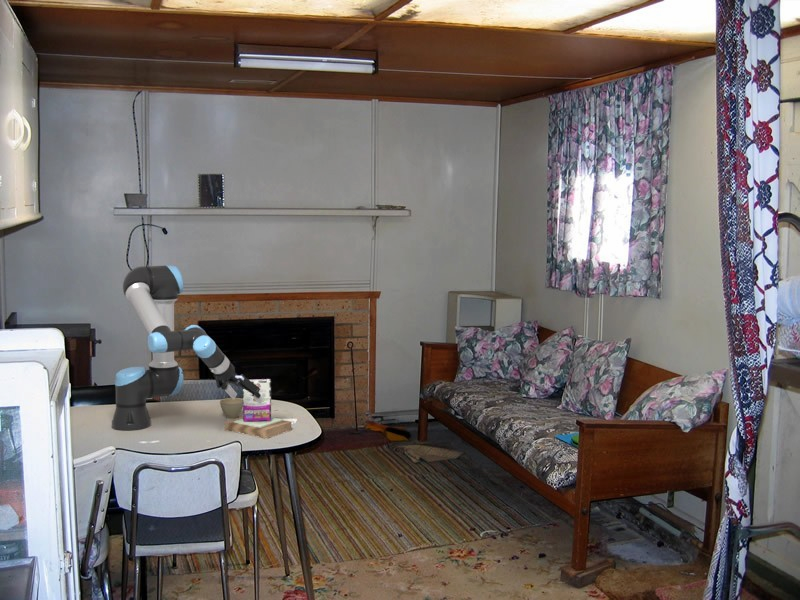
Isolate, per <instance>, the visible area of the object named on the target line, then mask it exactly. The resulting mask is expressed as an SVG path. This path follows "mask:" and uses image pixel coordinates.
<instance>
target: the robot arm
mask: <svg viewBox="0 0 800 600" xmlns="http://www.w3.org/2000/svg"><path fill="white" fill-rule="evenodd" d="M183 290H184V278H183V275H182V273H181V271H180V269H179V268H178V267H177V266H175V265H150V266H149V265H148V266H145V265H144V266H143V265H142V266H137V267H135V268H133V269H131V270H129V272H128V273H127V274H126V275H125V277H124V279H123V282H122V292H123V294H124V297H125V299H126V300H127V301H128V302H129V303H131V304H132V306H133V307H134V309H135V311H136V313H137V315H138V317H139V318H140V320H141V322H142V324H143V326H144V327H145V330H146V332H147V333H148V336H147V346H148V350H149V351H150V352H151V353H152V360H151V361H150V362H149V363H148V369H147V368H145V367H144V366H131V367H126V368H123V369H121V370H119V371H118V372H116V374H115V379H114V380H115V381H114V386H115V387H114V388H115V409H114V410H115V411H114V414H113V418H112V420H111V428H112V429H114V430H117V431H118V430H119V431H135V430H143V429H146V428H149V427H150V426H152V425H151V424H152V422H151V421H152V420H151V417H150V414H149V410H148V408H147V399H155V398H162V397H170V396H173V395H174V396H175V395H178V394H179V393H180V391H181V390H182V388H183V385H184V377H185V376H184V374H183V368H182V367H180V366H179V363H178V362H177V361H176V360H175V352H179V351H180V352H181V351H194V353H195V354H196V355H197V357H199V358H200V360H201V361H202V362H203V363H204V364H205V365H206V367H207V368H208V369H209V370H210V372H211V373H213V378H214V379H215V383H216V387H217V388H219V389H220V388H221V389H222V390H224V391H225V392H226V394H228V396H229V398H232V399H233V400H234V399H235V398H237V395H238V393H237V392H236V391H235V389H234V388H233V387H232V386H231V385H230V384H234V385H235V386H236V387H240V388H242V390H243V389H245V390H247V391H248V392H250V393H252V394H251V395H252V396H253V397H254V399H255V400H256V401H257V402H258V403H259V404H261V403H262V401H263V399H264V398H263V397H262V396H261V395H260V393H259V390H260V388H259V387H258V386H256V385H255V384H254V383H252V382H251V381H250V380H251V379H249V378H247V377H246V376H245V375H244V374H242V373H241V374H240V375H239V374H238V373H236V367H235V366H234V364H233V363H232V362H231V361H230V360H229V358H228V357H227V356H226V354H224V353H223V352H222V350H221V349H220V348H219V346H218V345H217V344H216V342H215V341H214V340H213V339H212V338H211V337H210V336H209V335H208V334H207V333H206V331H205V330H204V329H203V328H202V327H201V326H199V325H197V324H191V325H189V326H187V327H186V328H185V329H183V330H175V302H176V301H177V300H179V295H180V294H182V293H183V292H184V291H183Z"/></svg>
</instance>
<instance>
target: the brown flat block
mask: <svg viewBox="0 0 800 600" xmlns="http://www.w3.org/2000/svg"><path fill="white" fill-rule="evenodd" d="M240 419H243V415H242V416H238V417H237V418H230V419H228V420H225V421H224V431H227V430H228V432H232V431H233V432H232V433H237V432H240V433H239V434H242V433H244V434H243V435H246V434H249V435H248V436H251V435H254V436H253V437H256V436H259V437H258V438H261V437H263V438H262V439H266V438H267V439H270V438H273V437H275V435H276V436H278V434H279V435H281V433H282V434H284V433H283V432H285V433H287V432H286V431H288V432H290V431H289V430H291V431H292V421H289V420H283V419H281V420H282V421H280V422H277V423H274V424H271V425H268V426H264V427H261V428H259V427H254V426H249V425H244V424H239V423H234V421H236V420H240ZM272 436H273V437H272ZM269 437H270V438H269Z"/></svg>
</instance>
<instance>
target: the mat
mask: <svg viewBox="0 0 800 600" xmlns="http://www.w3.org/2000/svg"><path fill="white" fill-rule="evenodd" d="M282 420H283V419H280V418H276V417H271V421H257V422H243V419H240V420H236V421H234V423H239V424H244V425H249V426H254V427H259V428H261V427H264V426H268V425H271V424H274V423H277V422H280V421H282Z"/></svg>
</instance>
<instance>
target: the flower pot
mask: <svg viewBox="0 0 800 600" xmlns="http://www.w3.org/2000/svg"><path fill="white" fill-rule="evenodd" d="M219 404H220V408H221V410H222V413H223V415H224V416H225V417H226V419H235V418H238V417H240V415H241V412H243V398H240V397H235V399H234V400H233V399H232V398H231V397H229V398H228V397H227V398H223V399H221V400H219Z"/></svg>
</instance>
